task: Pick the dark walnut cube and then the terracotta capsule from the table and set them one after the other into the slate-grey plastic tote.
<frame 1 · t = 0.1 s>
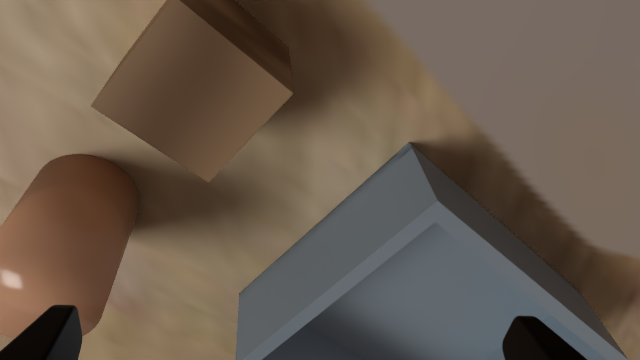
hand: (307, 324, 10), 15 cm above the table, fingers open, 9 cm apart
terracotta capsule: (88, 196, 25), on the table
walnut cube: (207, 51, 22), on the table
tote: (418, 294, 31), on the table
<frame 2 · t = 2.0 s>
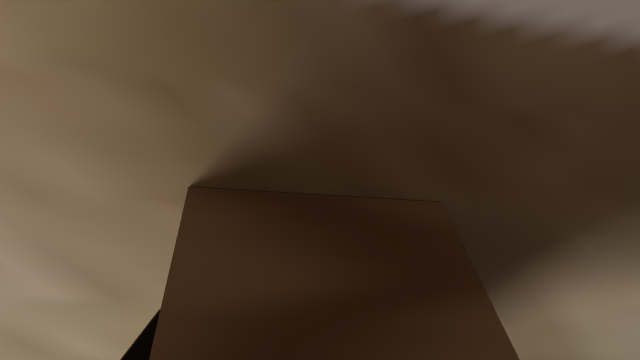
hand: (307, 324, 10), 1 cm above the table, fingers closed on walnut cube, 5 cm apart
walnut cube: (304, 286, 11), on the table, touching gripper
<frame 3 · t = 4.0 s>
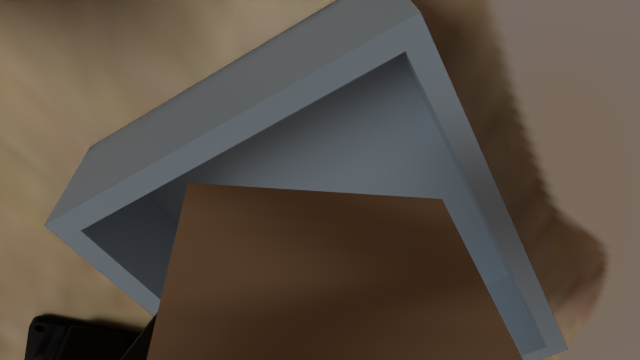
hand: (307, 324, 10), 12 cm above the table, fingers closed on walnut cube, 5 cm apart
walnut cube: (304, 283, 11), point 11 cm above the table, touching gripper
tote: (335, 217, 24), on the table
when the fingers open (4 cm above the table, at t = 6.2 s): walnut cube drops 3 cm, resting on tote.
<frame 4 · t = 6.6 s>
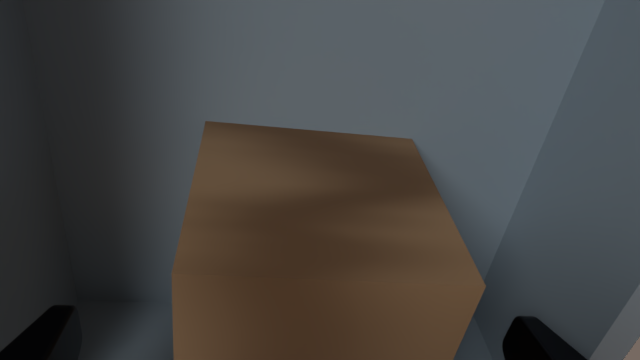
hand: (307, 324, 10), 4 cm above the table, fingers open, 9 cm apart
walnut cube: (299, 213, 13), point 1 cm above the table, touching tote
tote: (319, 42, 11), on the table
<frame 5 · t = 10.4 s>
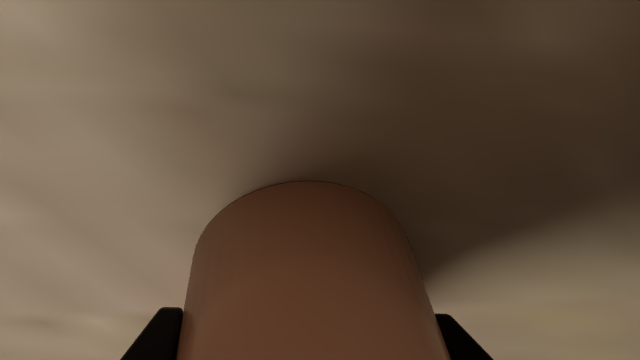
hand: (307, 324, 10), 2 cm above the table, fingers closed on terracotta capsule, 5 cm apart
terracotta capsule: (303, 271, 11), on the table, touching gripper
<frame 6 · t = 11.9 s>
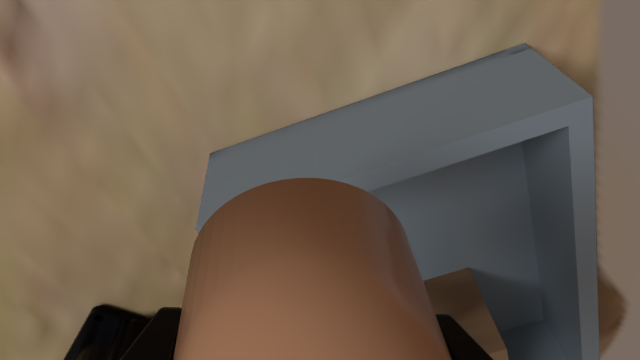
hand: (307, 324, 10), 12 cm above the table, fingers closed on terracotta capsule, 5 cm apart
terracotta capsule: (302, 268, 11), point 10 cm above the table, touching gripper
walnut cube: (430, 311, 27), point 1 cm above the table, touching tote
tote: (409, 247, 25), on the table
when the fingers open (5 cm above the table, at t = 13.7 s): terracotta capsule drops 3 cm, resting on tote.
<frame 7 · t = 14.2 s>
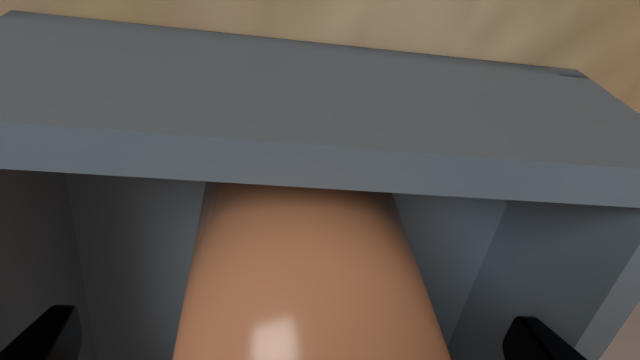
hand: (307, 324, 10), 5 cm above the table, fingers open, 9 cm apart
terracotta capsule: (297, 200, 14), point 1 cm above the table, touching tote
tote: (283, 300, 17), on the table
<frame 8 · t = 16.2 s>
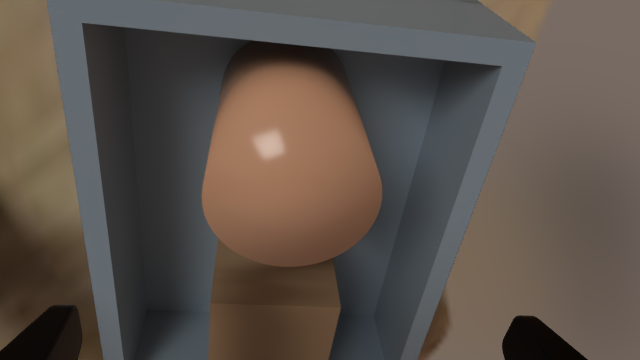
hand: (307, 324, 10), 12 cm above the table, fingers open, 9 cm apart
terracotta capsule: (285, 94, 20), point 1 cm above the table, touching tote
walnut cube: (269, 263, 24), point 1 cm above the table, touching tote
tote: (277, 181, 23), on the table
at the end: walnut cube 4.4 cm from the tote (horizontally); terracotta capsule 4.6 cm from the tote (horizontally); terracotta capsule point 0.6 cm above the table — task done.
